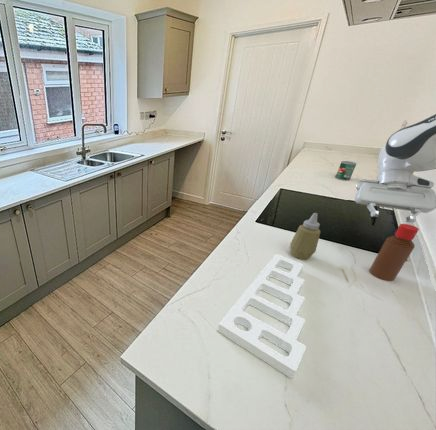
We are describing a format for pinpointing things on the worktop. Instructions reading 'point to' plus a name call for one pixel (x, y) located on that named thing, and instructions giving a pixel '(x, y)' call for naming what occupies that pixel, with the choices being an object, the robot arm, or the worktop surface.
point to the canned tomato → (345, 170)
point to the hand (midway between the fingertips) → (392, 219)
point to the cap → (406, 231)
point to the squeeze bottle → (306, 238)
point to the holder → (262, 329)
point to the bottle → (391, 258)
